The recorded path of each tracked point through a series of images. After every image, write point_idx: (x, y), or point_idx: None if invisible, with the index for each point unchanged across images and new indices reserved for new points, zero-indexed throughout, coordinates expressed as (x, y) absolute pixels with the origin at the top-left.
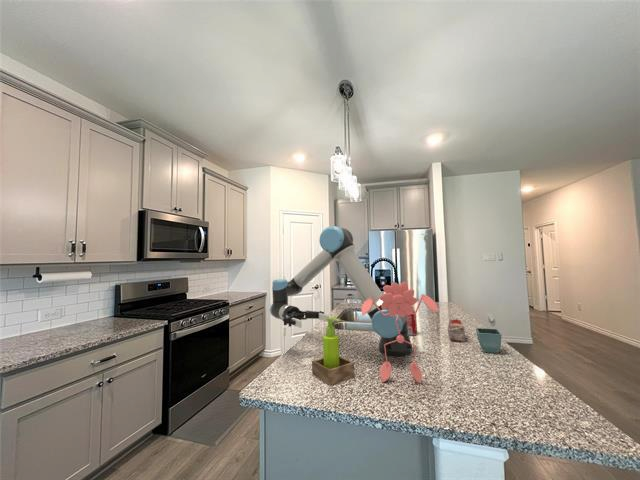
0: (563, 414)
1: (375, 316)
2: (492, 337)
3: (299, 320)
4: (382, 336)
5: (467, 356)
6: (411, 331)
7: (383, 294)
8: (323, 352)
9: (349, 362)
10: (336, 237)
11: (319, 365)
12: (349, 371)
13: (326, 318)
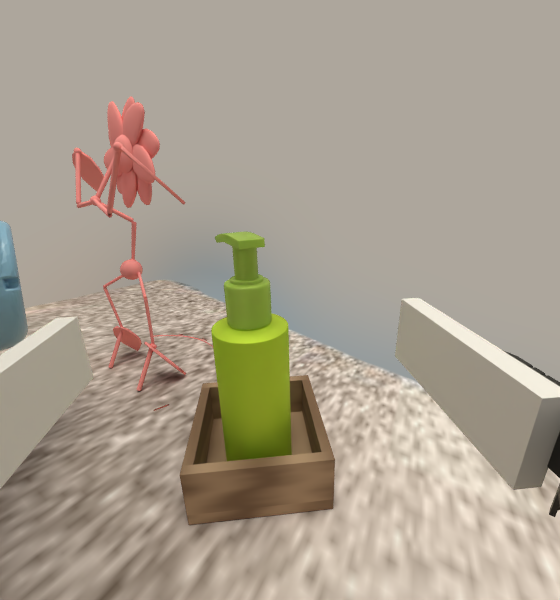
0: (123, 294)
1: (14, 254)
2: None
3: (421, 302)
4: (24, 338)
5: None
6: None
7: (152, 132)
8: (288, 394)
9: (209, 393)
10: None
11: (319, 415)
12: None
13: (259, 238)
